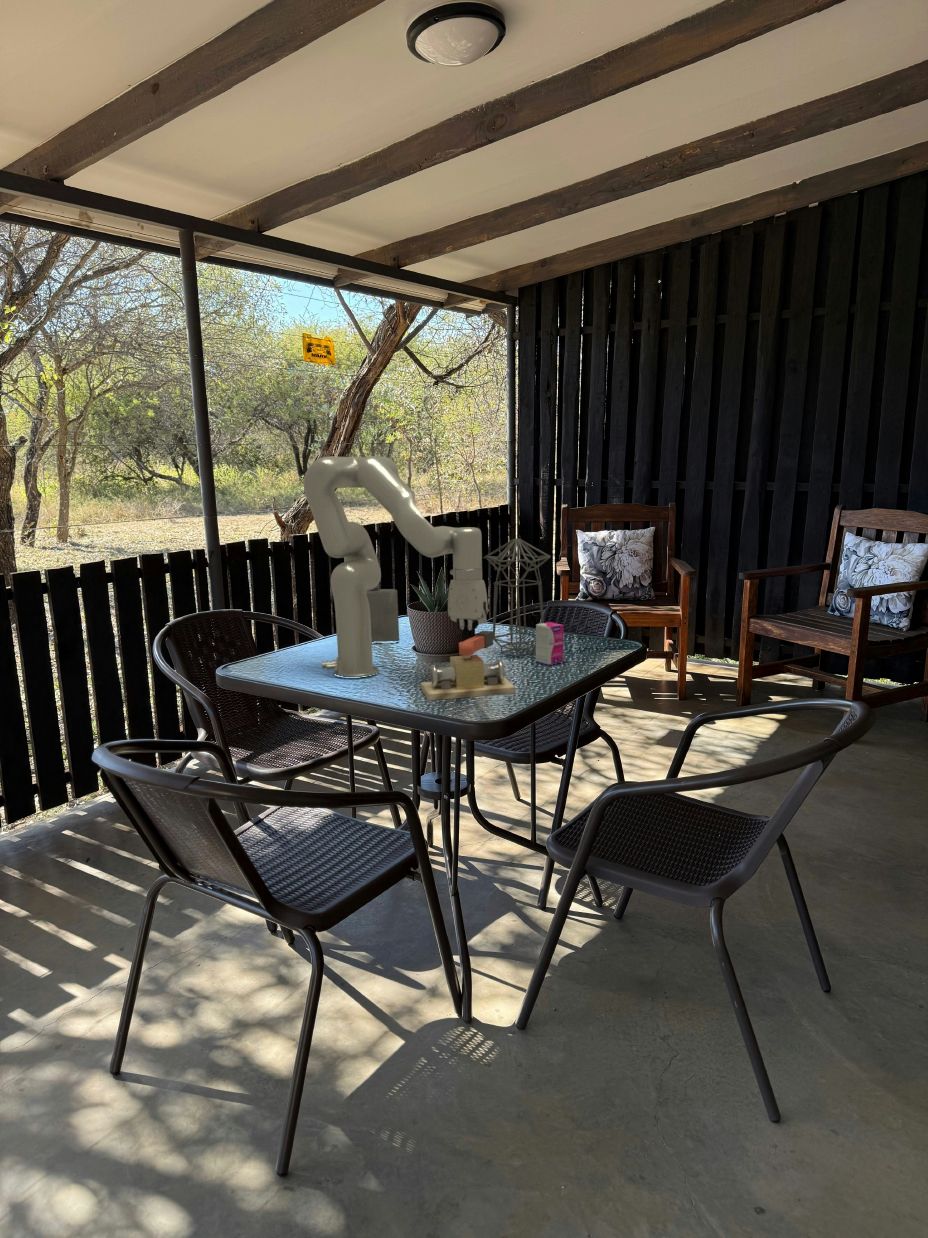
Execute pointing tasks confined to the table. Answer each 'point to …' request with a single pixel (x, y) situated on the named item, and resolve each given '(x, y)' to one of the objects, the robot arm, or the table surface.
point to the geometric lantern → (491, 558)
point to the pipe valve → (467, 673)
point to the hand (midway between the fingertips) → (468, 643)
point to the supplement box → (549, 643)
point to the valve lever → (476, 643)
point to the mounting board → (466, 690)
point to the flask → (383, 614)
